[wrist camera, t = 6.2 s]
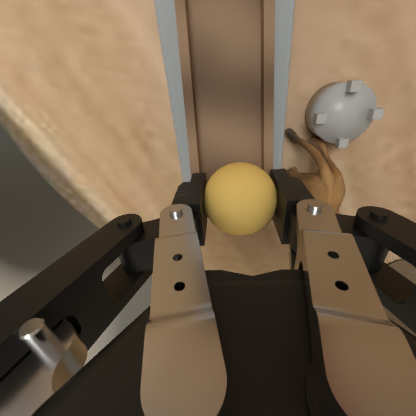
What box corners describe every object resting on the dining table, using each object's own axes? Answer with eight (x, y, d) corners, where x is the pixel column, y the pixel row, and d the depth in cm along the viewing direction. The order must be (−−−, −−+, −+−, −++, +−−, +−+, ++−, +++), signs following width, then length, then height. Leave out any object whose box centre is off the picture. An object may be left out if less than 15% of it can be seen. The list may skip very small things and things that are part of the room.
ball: (283, 181, 12) (303, 217, 9) (237, 220, 14) (241, 262, 11) (237, 137, 11) (242, 162, 8) (192, 185, 13) (183, 221, 10)
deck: (273, 186, 23) (278, 197, 21) (189, 191, 24) (186, 202, 22) (296, -147, 13) (310, -192, 11) (143, -117, 13) (129, -153, 11)
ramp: (261, 179, 20) (272, 209, 16) (201, 182, 21) (194, 213, 16) (268, -38, 13) (293, -98, 9) (177, -24, 14) (153, -74, 9)
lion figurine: (345, 234, 26) (397, 301, 18) (300, 248, 27) (330, 316, 20) (313, 114, 20) (372, 138, 12) (256, 141, 21) (275, 179, 13)
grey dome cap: (353, 136, 20) (374, 145, 17) (300, 140, 21) (312, 150, 18) (367, 76, 18) (394, 76, 15) (307, 82, 18) (322, 83, 16)
